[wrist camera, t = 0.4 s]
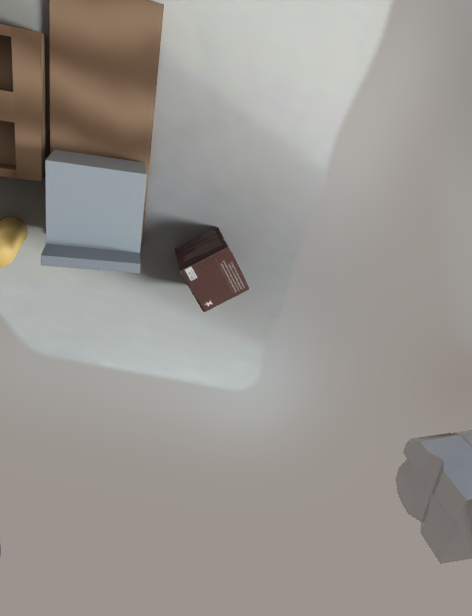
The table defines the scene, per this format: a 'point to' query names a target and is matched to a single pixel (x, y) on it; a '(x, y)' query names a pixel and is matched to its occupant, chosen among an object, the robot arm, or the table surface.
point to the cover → (93, 212)
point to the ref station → (104, 77)
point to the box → (210, 269)
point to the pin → (11, 239)
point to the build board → (22, 104)
